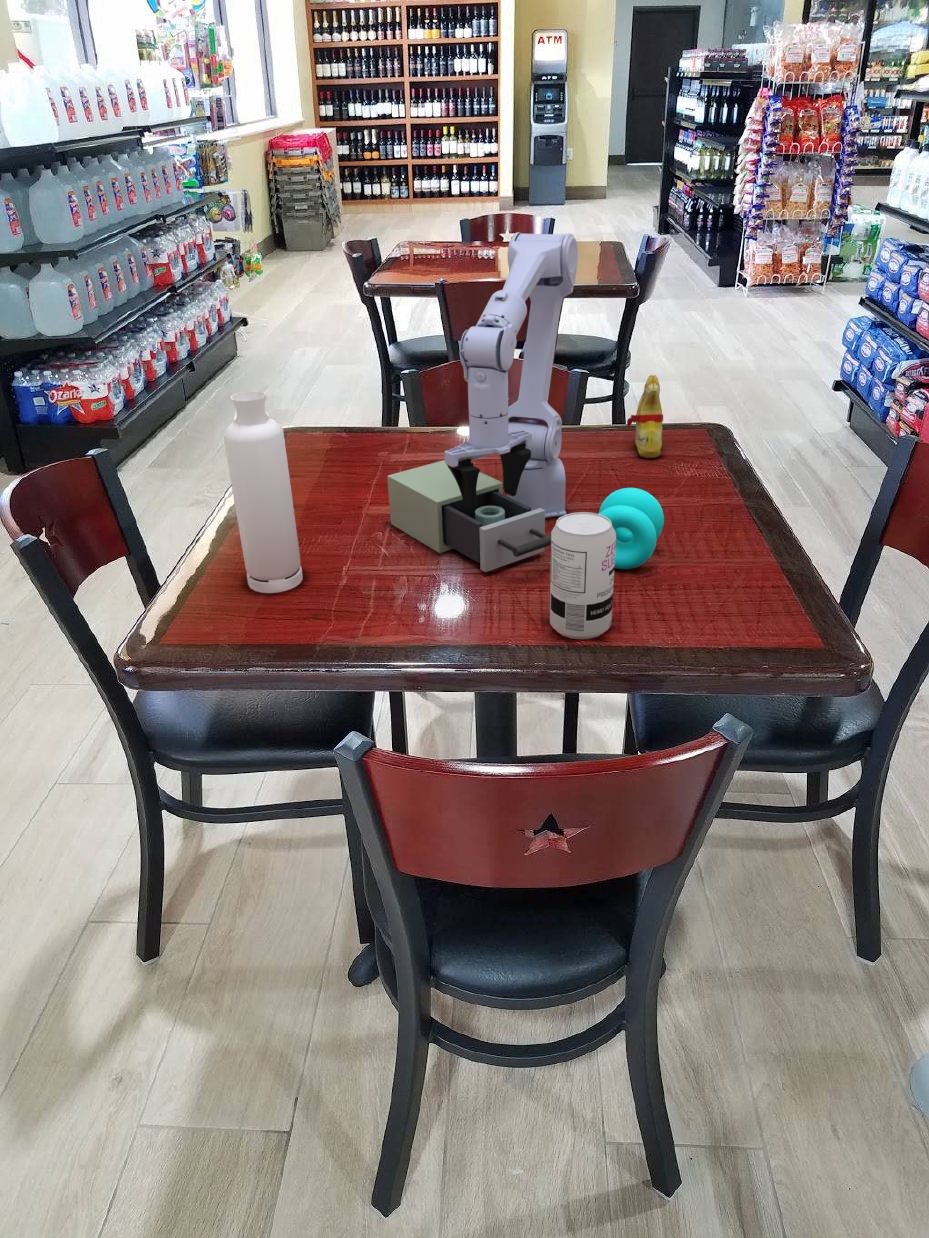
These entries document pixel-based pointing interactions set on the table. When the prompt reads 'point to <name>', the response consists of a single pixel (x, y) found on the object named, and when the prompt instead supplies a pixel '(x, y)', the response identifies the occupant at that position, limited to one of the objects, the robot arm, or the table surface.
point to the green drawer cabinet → (428, 500)
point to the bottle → (262, 495)
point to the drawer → (495, 531)
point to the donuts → (633, 525)
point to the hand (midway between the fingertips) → (490, 500)
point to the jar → (489, 515)
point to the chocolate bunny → (649, 420)
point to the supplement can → (582, 575)
